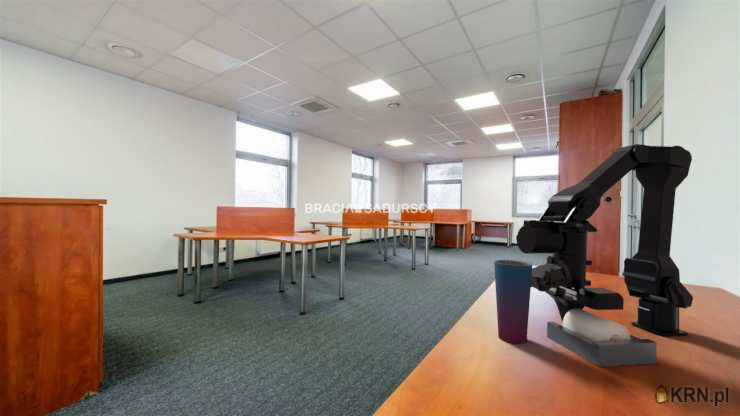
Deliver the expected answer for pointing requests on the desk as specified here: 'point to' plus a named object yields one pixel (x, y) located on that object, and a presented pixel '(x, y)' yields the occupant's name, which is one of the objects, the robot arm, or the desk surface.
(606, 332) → the roll
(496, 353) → the desk surface
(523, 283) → the cup
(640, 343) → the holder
